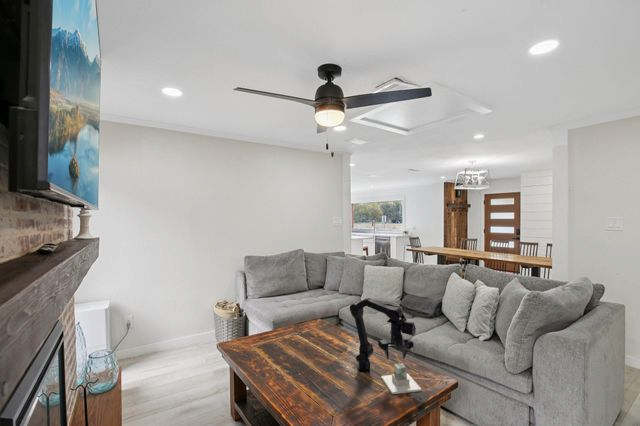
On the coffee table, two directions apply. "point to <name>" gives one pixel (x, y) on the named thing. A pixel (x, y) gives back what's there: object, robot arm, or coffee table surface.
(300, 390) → the coffee table surface
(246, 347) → the coffee table surface
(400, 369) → the sage block
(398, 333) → the robot arm
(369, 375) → the coffee table surface
